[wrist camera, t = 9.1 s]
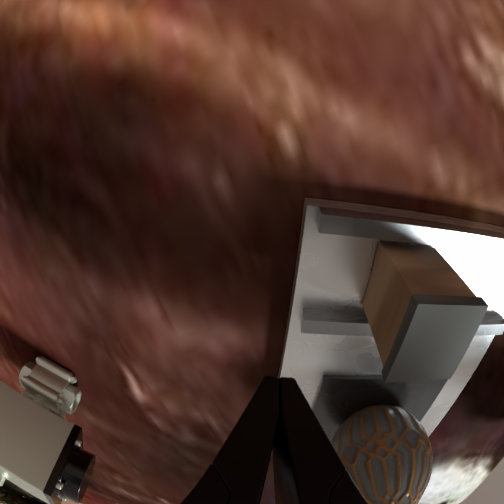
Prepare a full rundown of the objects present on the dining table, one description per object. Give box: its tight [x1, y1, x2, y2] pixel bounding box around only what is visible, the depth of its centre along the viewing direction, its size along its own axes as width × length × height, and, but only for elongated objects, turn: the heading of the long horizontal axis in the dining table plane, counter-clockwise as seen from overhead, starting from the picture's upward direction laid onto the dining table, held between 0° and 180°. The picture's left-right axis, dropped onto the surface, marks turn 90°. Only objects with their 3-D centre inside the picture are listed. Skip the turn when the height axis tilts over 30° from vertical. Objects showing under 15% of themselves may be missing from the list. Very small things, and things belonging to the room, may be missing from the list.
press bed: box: [278, 197, 504, 442], centre depth 18 cm, size 14×19×2 cm
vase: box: [331, 404, 433, 504], centre depth 15 cm, size 7×7×9 cm
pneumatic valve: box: [0, 356, 95, 504], centre depth 17 cm, size 6×12×12 cm, turn 67°
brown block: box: [363, 241, 489, 383], centre depth 12 cm, size 3×4×5 cm
